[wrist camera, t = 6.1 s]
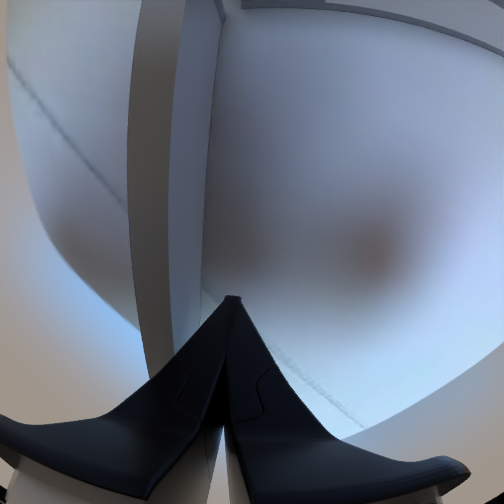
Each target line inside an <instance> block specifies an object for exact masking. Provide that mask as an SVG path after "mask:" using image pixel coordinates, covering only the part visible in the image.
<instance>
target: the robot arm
mask: <svg viewBox="0 0 504 504" xmlns="http://www.w3.org/2000/svg"><path fill="white" fill-rule="evenodd" d="M223 426H224V437H225V450H226V462H227V473H228V485H229V497H230V504H443V502H442V498H441V496H443V495H445V494H446V493H448V492H449V491H451V490H452V489H454V488H455V487H457V486H458V485H460V484H461V483H463V482H464V481H465V480H467V479H468V478H469V477H470V475H471V472H470V471H469V469H468V468H467V467H466V466H465V465H464V464H462V463H461V462H459V461H457V460H455V459H452V458H450V457H448V456H437V457H433V458H429V459H426V460H423V461H416V462H404V461H397V460H393V459H390V458H387V457H384V456H381V455H378V454H375V453H372V452H369V451H367V450H364V449H361V448H359V447H356V446H353V445H351V444H348V443H346V442H343V441H341V440H339V439H337V438H336V437H334V436H333V435H332V434H331V433H329V432H328V431H327V430H326V429H325V428H324V426H323V425H322V424H321V423H320V422H319V421H318V419H317V418H316V417H315V416H314V415H313V414H312V412H311V411H310V410H309V409H308V408H307V406H306V405H305V404H304V403H303V402H302V400H301V399H300V398H299V397H298V395H297V394H296V393H295V391H294V390H293V389H292V388H291V386H290V385H289V383H288V382H287V380H286V379H285V377H284V376H283V374H282V372H281V371H280V369H279V367H278V366H277V364H276V362H275V361H274V359H273V357H272V355H271V354H270V352H269V350H268V348H267V347H266V345H265V343H264V341H263V340H262V338H261V336H260V334H259V333H258V331H257V329H256V327H255V326H254V324H253V322H252V320H251V318H250V317H249V315H248V313H247V311H246V309H245V308H244V306H243V304H242V302H241V297H240V296H230V295H226V296H225V298H224V301H223V302H222V303H221V304H220V305H219V306H218V308H217V309H216V310H215V311H214V312H213V313H212V314H211V315H210V316H209V318H208V319H207V320H206V321H205V322H204V323H203V324H202V325H201V326H200V328H199V329H198V330H197V331H196V332H195V333H194V334H193V335H192V336H191V337H190V339H189V340H188V341H187V342H186V343H185V344H184V345H183V346H182V347H181V348H180V350H179V351H178V352H177V353H176V354H175V355H174V356H173V357H172V358H171V359H170V360H169V362H168V363H167V364H166V365H165V366H164V367H163V368H162V369H161V370H160V371H159V372H158V373H157V374H156V375H154V376H153V377H152V378H151V379H150V380H149V381H148V382H146V383H145V384H144V385H143V386H142V387H140V388H139V389H138V390H137V391H136V392H134V393H133V394H132V395H131V396H129V397H128V398H127V399H126V400H124V401H123V402H122V403H121V404H120V405H118V406H117V407H116V408H114V409H113V410H112V411H110V412H108V413H107V414H104V415H102V416H100V417H97V418H91V419H85V420H78V421H71V422H63V423H54V424H44V425H29V424H23V423H19V422H16V421H13V420H12V419H10V418H8V417H6V416H4V415H1V414H0V457H1V458H2V459H3V460H4V461H5V462H7V463H8V464H9V465H10V466H11V467H13V468H14V469H15V470H14V472H13V475H12V478H11V480H10V483H9V486H8V489H5V488H4V487H2V486H0V504H206V502H207V498H208V494H209V489H210V483H211V480H212V476H213V471H214V467H215V462H216V458H217V453H218V449H219V444H220V440H221V435H222V431H223ZM485 504H504V492H503V493H502V494H500V495H498V496H497V497H495V498H493V499H492V500H490V501H488V502H486V503H485Z"/></svg>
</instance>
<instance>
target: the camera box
mask: <svg viewBox="0 0 504 504" xmlns="http://www.w3.org/2000/svg"><path fill="white" fill-rule="evenodd" d="M241 5H242V9H244V8H271V7H286V8H313V9H326V10H337V11H346V12H353V13H360V14H367V15H373V16H378V17H384V18H389V19H393V20H398V21H402V22H407V23H411V24H415V25H418V26H422V27H426V28H429V29H433V30H436V31H439V32H442V33H445V34H448V35H451V36H454V37H457V38H460V39H463V40H465V41H468V42H471V43H473V44H476V45H478V46H481V47H483V48H485V49H488V50H490V51H492V52H495V53H497V54H499V55H501V56H503V57H504V0H241Z"/></svg>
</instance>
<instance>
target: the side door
mask: <svg viewBox="0 0 504 504" xmlns="http://www.w3.org/2000/svg"><path fill="white" fill-rule="evenodd" d="M225 17H226V16H225V11H224V7H223V3H222V0H142V4H141V9H140V15H139V21H138V27H137V33H136V40H135V48H134V56H133V64H132V74H131V85H130V98H129V114H128V139H127V191H128V217H129V234H130V247H131V259H132V269H133V279H134V287H135V296H136V303H137V310H138V317H139V324H140V330H141V336H142V342H143V348H144V353H145V359H146V364H147V369H148V373H149V378H150V379H151V378H152V377H153V376H154V375H156V374H157V373H158V372H159V371H160V370H161V369H162V368H163V367H164V366H165V365H166V364H167V363H168V362H169V360H170V359H171V358H172V357H173V356H174V355H175V354H176V353H177V352H178V351H179V350H180V348H181V347H182V346H183V345H184V344H185V343H186V342H187V341H188V340H189V339H190V337H191V336H192V335H193V334H194V333H195V332H196V331H197V330H198V329H199V324H200V318H201V269H202V241H203V219H204V201H205V185H206V170H207V156H208V144H209V132H210V121H211V110H212V100H213V91H214V81H215V73H216V64H217V56H218V48H219V40H220V33H221V26H222V24H223V22H224V21H225Z"/></svg>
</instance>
